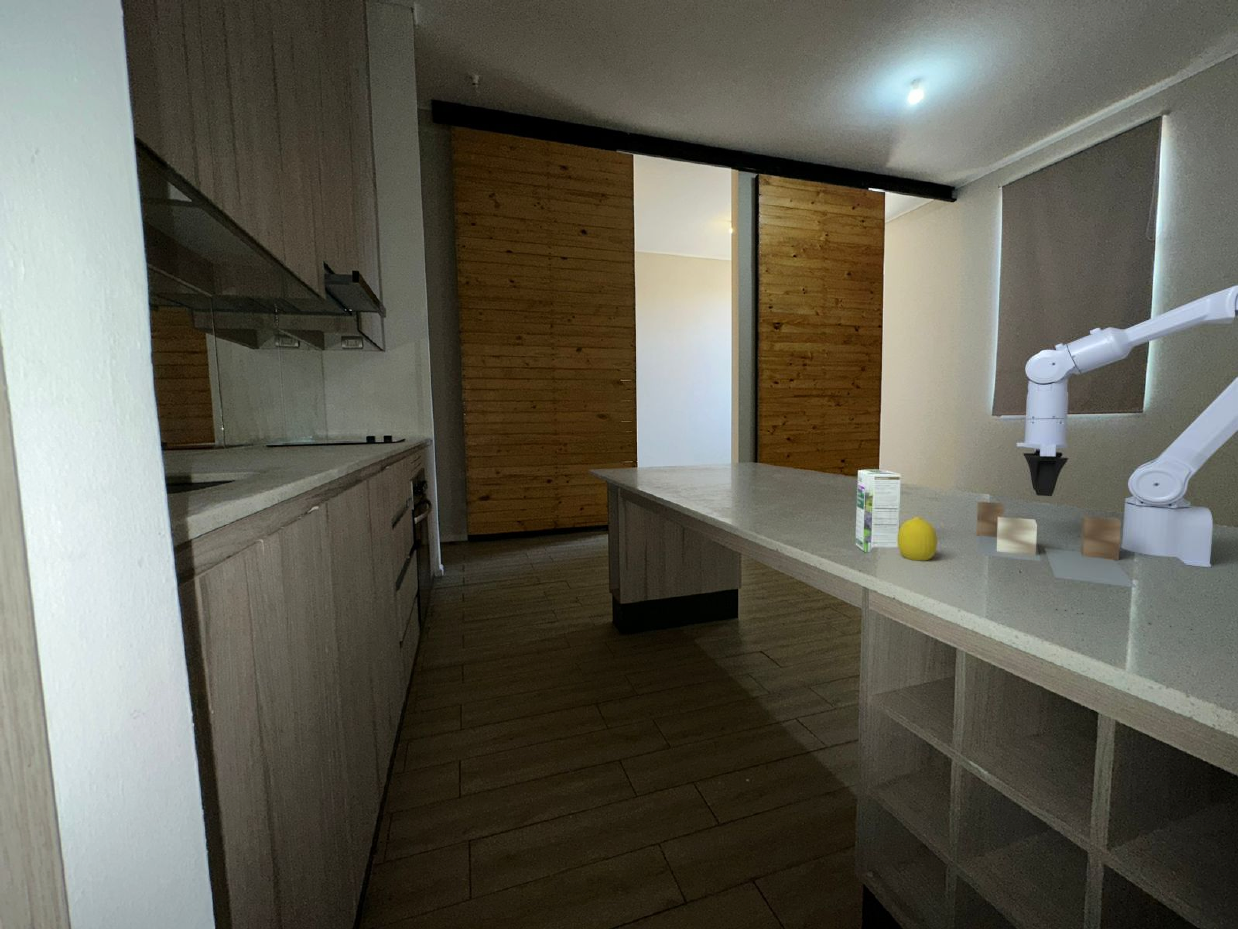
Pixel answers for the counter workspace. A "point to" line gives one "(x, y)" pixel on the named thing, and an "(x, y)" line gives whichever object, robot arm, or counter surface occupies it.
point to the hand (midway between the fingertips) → (1042, 492)
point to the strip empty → (1092, 554)
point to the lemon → (917, 540)
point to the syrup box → (877, 509)
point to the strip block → (994, 532)
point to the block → (1016, 535)
